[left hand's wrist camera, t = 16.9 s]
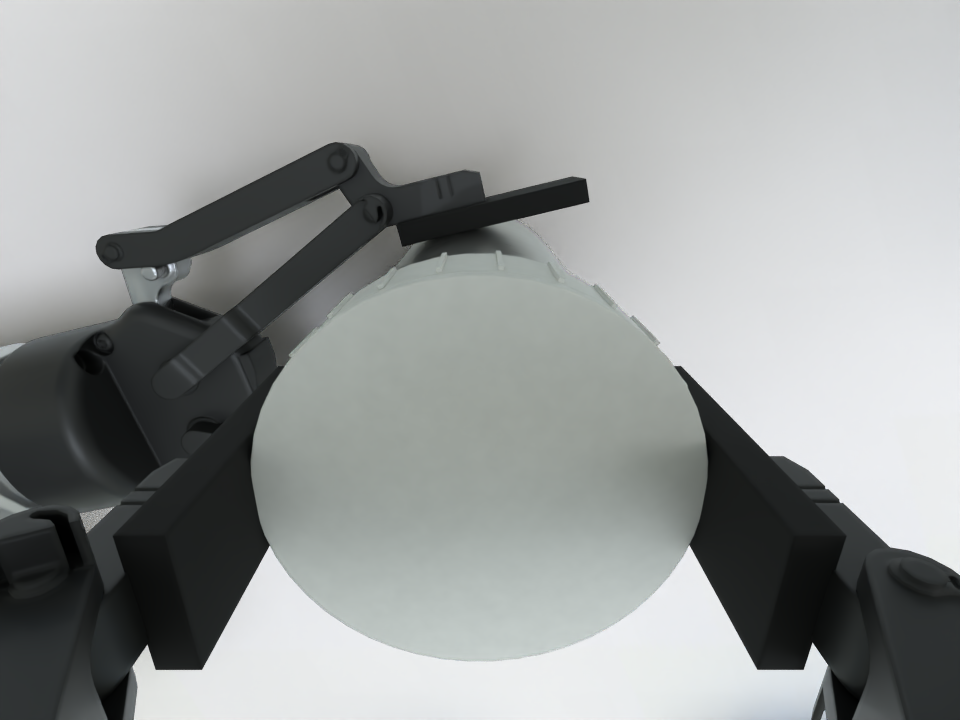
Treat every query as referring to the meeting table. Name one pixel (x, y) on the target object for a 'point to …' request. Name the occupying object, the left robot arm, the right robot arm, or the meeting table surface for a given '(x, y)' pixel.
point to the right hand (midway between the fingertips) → (598, 307)
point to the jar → (485, 244)
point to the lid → (479, 460)
